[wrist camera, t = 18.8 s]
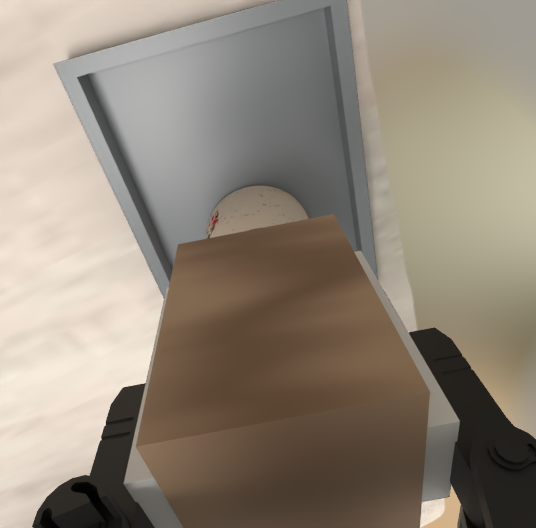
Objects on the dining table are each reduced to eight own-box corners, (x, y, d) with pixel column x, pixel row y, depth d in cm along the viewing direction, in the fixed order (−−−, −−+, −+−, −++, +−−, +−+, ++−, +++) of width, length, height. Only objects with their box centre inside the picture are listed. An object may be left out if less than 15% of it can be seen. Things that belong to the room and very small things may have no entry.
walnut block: (333, 214, 13) (429, 391, 7) (343, 331, 15) (419, 533, 9) (178, 244, 13) (135, 447, 7) (215, 355, 15) (208, 571, 9)
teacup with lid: (190, 193, 31) (174, 273, 21) (304, 170, 31) (342, 238, 21) (225, 312, 37) (226, 417, 27) (321, 293, 37) (356, 391, 27)
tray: (370, 284, 38) (380, 300, 36) (189, 329, 39) (187, 347, 36) (334, -15, 25) (344, -19, 23) (67, 60, 26) (53, 63, 24)
